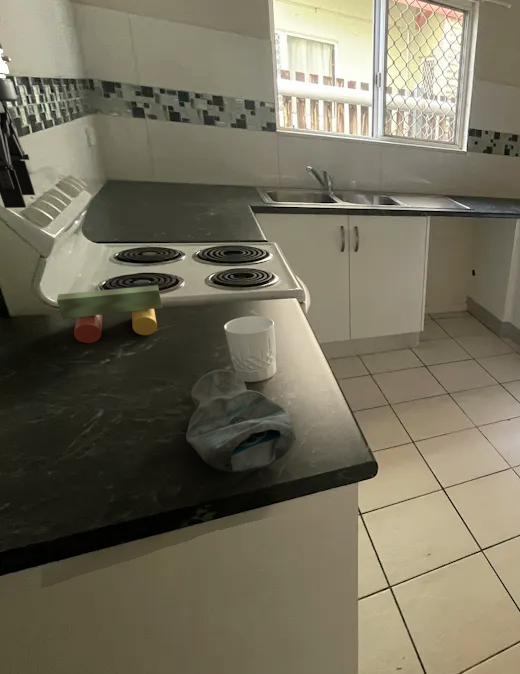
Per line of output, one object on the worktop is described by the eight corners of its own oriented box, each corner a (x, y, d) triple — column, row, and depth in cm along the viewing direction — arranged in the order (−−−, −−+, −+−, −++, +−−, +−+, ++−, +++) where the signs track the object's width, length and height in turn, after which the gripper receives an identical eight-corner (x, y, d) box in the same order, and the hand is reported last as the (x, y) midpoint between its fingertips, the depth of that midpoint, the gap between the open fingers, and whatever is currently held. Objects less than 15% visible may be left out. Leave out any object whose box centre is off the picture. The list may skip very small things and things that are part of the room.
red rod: (103, 341, 94) (98, 322, 92) (77, 344, 92) (71, 326, 90) (104, 319, 102) (99, 302, 101) (80, 322, 100) (75, 305, 98)
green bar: (62, 319, 92) (56, 300, 91) (64, 313, 95) (58, 294, 93) (162, 307, 101) (158, 290, 100) (161, 302, 104) (157, 285, 102)
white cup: (283, 378, 87) (277, 329, 83) (235, 388, 83) (226, 336, 79) (275, 360, 93) (269, 313, 89) (229, 368, 89) (221, 319, 85)
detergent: (310, 457, 68) (261, 379, 85) (301, 418, 65) (252, 345, 82) (206, 500, 61) (175, 405, 78) (191, 458, 57) (162, 368, 74)
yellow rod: (158, 333, 99) (154, 315, 97) (135, 336, 97) (130, 318, 95) (155, 313, 108) (151, 297, 106) (133, 316, 105) (129, 299, 104)
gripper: (-2, 76, 75) (40, 213, 83) (21, 78, 92) (53, 190, 101) (-73, 69, 70) (-21, 214, 79) (-35, 72, 88) (4, 190, 97)
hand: (21, 201), depth 90 cm, fingers open, 13 cm apart
